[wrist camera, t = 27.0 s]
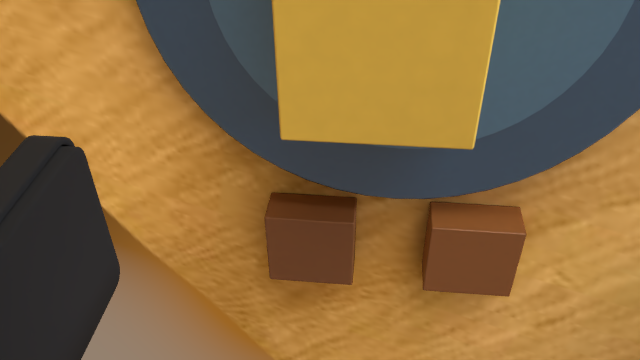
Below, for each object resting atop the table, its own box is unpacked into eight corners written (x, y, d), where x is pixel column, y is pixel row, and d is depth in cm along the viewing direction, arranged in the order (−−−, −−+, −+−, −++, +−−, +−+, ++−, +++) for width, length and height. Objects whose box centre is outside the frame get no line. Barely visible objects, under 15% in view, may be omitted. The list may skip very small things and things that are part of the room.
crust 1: (271, 191, 31) (264, 217, 29) (356, 196, 30) (354, 223, 29) (275, 252, 34) (269, 279, 32) (354, 258, 33) (352, 285, 32)
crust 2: (430, 201, 30) (431, 228, 28) (520, 206, 30) (526, 234, 28) (421, 262, 33) (422, 290, 31) (504, 268, 32) (509, 297, 31)
